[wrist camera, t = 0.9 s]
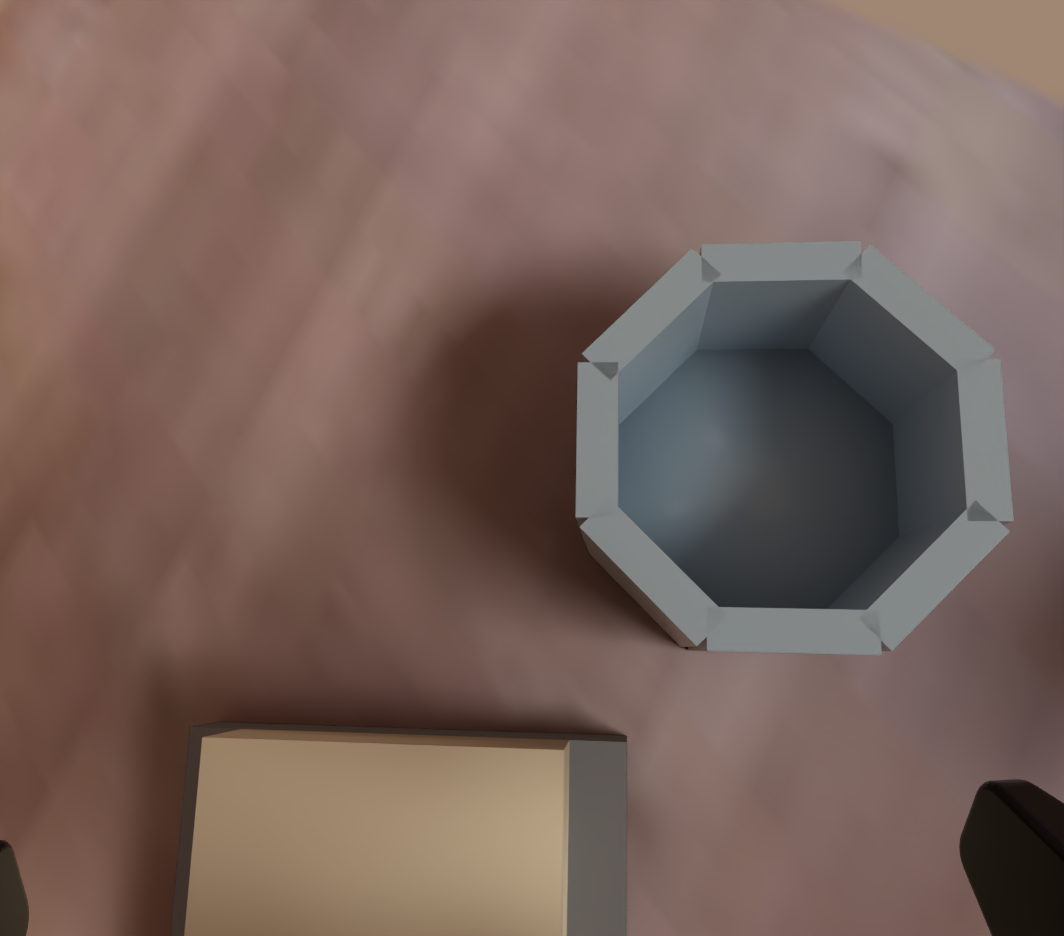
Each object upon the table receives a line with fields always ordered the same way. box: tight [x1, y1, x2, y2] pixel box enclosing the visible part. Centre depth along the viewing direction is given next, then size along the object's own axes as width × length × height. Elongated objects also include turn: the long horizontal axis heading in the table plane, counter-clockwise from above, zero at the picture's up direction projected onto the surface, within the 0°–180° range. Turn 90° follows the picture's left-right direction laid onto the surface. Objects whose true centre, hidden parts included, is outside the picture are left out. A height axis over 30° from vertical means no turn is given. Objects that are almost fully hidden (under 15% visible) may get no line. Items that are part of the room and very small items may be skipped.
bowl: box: [576, 241, 1014, 655], centre depth 20 cm, size 8×8×5 cm
